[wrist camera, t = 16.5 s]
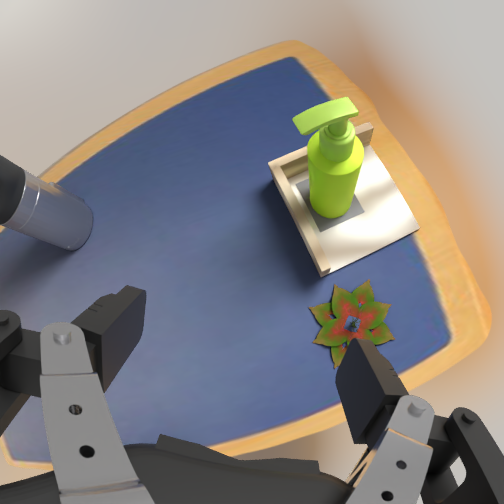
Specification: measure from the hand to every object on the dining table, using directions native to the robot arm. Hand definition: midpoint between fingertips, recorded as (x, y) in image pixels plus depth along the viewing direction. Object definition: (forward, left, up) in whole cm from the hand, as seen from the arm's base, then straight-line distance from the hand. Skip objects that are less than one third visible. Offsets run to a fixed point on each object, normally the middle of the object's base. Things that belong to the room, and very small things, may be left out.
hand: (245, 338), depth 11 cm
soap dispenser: (-14, +11, -29) cm, 34 cm away
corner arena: (-12, +14, -29) cm, 35 cm away
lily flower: (+3, +7, -30) cm, 31 cm away
